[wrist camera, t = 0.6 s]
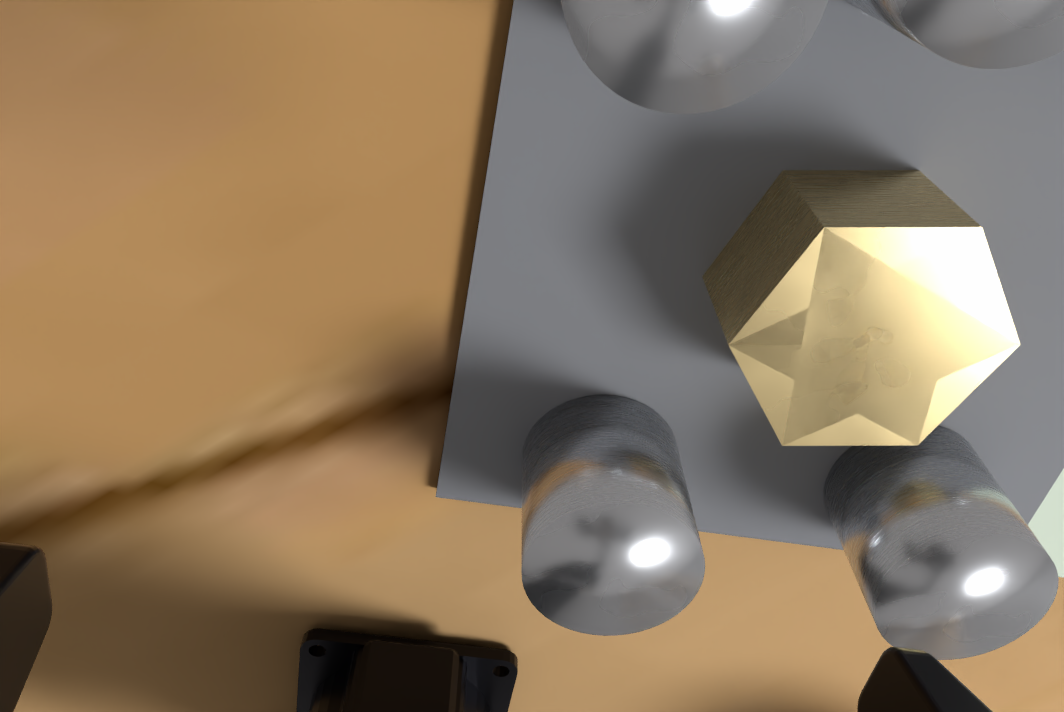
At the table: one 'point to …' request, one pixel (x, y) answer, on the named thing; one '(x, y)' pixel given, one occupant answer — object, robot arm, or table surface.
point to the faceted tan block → (860, 306)
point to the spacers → (861, 471)
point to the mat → (704, 230)
